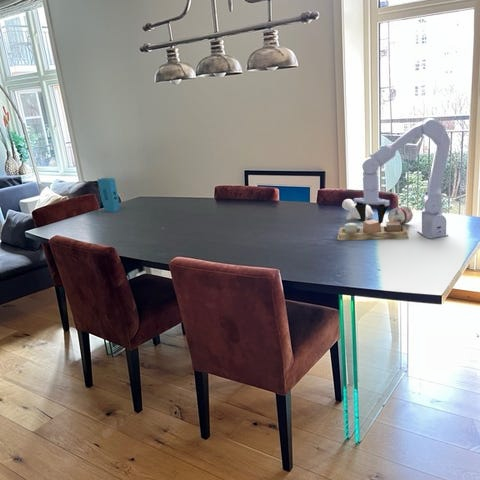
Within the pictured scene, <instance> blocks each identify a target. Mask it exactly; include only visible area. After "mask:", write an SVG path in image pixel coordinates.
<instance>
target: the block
mask: <svg viewBox="0 0 480 480" xmlns="http://www.w3.org/2000/svg"><path fill="white" fill-rule="evenodd" d="M97 184H98V189H99V193H100V194H99V196H100V200H101V204H102V206H103V209H104V211H105V212H108V213H115V212H118V211H120V204H119V203H120V201H119V196H118V194H119V193H118V190H117V185H116V184H117V183H116V179H115V178H114V177H111V178H109V177H103V178H98V179H97Z"/></svg>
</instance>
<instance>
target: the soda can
mask: <svg viewBox="0 0 480 480" xmlns="http://www.w3.org/2000/svg"><path fill="white" fill-rule="evenodd" d="M413 213H414V212H413V211H412V209H411V208H410V207H408V206H399V207H395V208H392V209H391V210H390V211H389V212H388V216H387V220H388V222H395V221H399V222H400V226H404V225H405V224H408V223H410V222H411V221H412V219H413V216H414V214H413Z"/></svg>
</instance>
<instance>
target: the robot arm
mask: <svg viewBox="0 0 480 480" xmlns="http://www.w3.org/2000/svg"><path fill="white" fill-rule="evenodd" d="M424 135H425V136H426V137H428V138H429V139H430V140H431V141H432V142H433V143H434V144H435V146H434V147H435V148H434V153H433V158H432V163H431V167H430V168H431V169H430V174H429V179H428V184H427V187H426V189H425V193H424V195H423V196H422V198H421V203H422V205H423V206H424V207H423V209H421V229H420V230H417V233H419V234H420V235H422V236H424V237H425V238H427V239H434V238H441V237H447V236H449V234H448V233H447V219H446V217H445V215H443V210H442V209H443V202H442V191H443V190H442V187H443V183H444V176H445V173H446V167H447V162H448V156H449V153H450V148H451V139H450V137H449V135H448V131H447V130H446V127H445V126H444V125H443V123H441V122H440V121H439V120H437V119H436V118H434V117H426V118H424V119H422V121H420V122H417V124H416V123H415V125H414V126H412V127H410V128H409V129H408V130H407V131H406V132H404V134H402V135H401V136H399V137H398V138H397V139H395V141H393V142H392V143H391V144H387V143H386V144H384V145H383V144H382V145H380V146H379V149H377V151H375V152H374V153H370V154H369V157H366V158H364V159H363V161H362V164H361V167H362V170H363V171H362V176H363V177H362V185H363V186H362V189H363V190H362V191H363V197H355V198H353V202H354V204H356V205H355V208H356V209H357V211H358V213H359V215H360V218H361V219H360V222H362V223H363V221H365V219H366V214H365V211H366V205H374V206H375V205H376V211H377V218H378V219H377V221H378V222H379V223H381V224H382V223H383V221H384V217H385V214H386V211H387V209H388V207H389V206H390V199H384V198H380V197H379V176H378V170H379V167H382V166H383V165H385V164H387V163H388V162H389V161H390V160H392V159H393V158H395V157H396V154H397V151H399V150H400V149H401V148H403V147H404V146H405V145H407V144H409V143H410V142H412V141H413V140H414V139H419V138H420V139H421V138H424Z"/></svg>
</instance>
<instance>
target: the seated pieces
mask: <svg viewBox="0 0 480 480" xmlns="http://www.w3.org/2000/svg"><path fill="white" fill-rule="evenodd" d="M385 223H386V225H385V226H386V229H387V232H400V226H401V225H400V222H399V221H395V222H389V221H385ZM357 227H358V224H357V223H356V222H355V223H354V222H349V223H345V224H344V228H345V233H357Z"/></svg>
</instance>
